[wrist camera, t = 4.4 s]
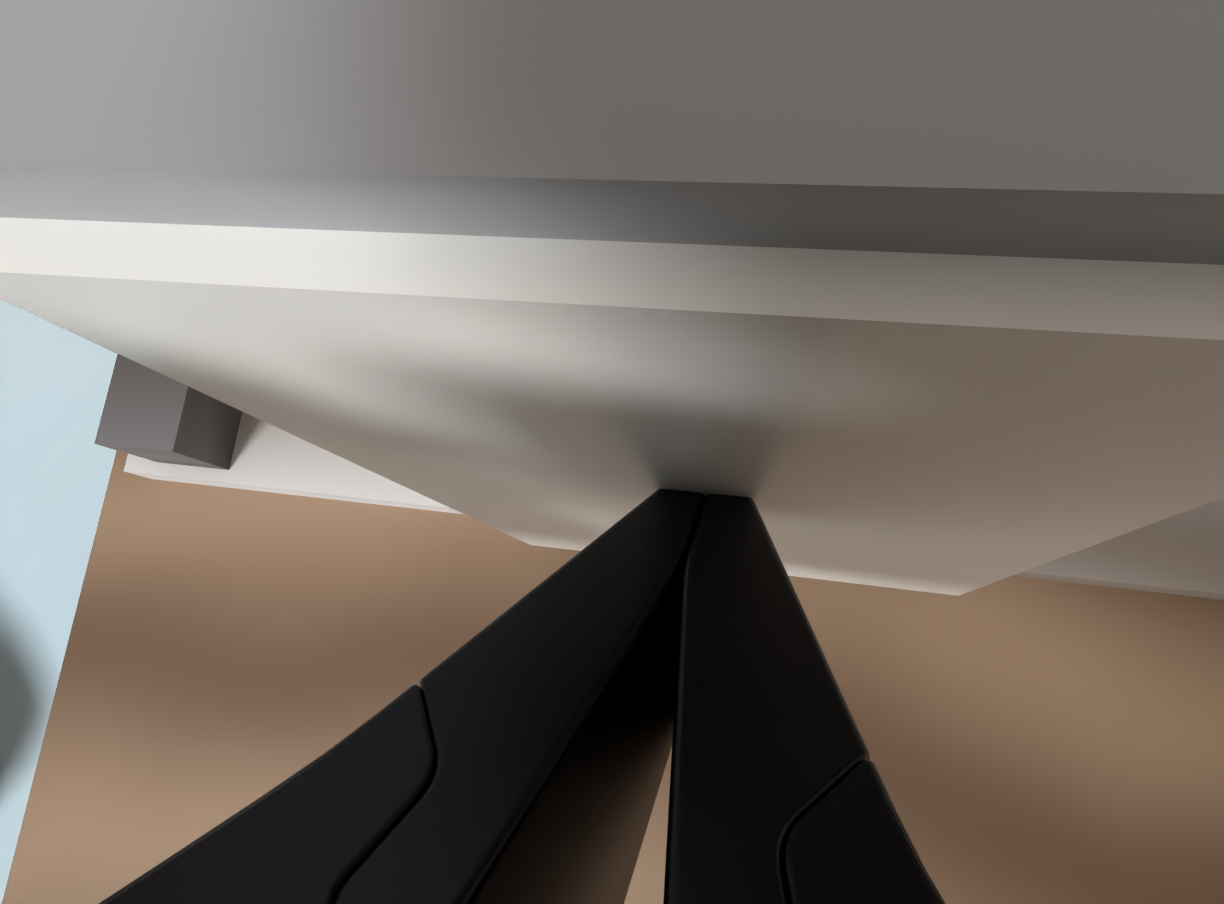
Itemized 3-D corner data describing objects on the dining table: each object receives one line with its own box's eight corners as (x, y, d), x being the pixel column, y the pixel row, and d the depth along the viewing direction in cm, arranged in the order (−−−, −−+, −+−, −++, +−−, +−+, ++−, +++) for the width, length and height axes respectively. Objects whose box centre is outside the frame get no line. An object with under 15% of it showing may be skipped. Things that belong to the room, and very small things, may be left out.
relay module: (958, 595, 13) (1751, 304, 2) (529, 544, 15) (-170, 220, 4) (975, 258, 15) (1561, -957, 4) (577, 242, 16) (142, -652, 5)
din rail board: (1660, 1639, 11) (2057, 2088, 8) (-4, 1120, 17) (-210, 1243, 13) (1547, 317, 15) (1784, 215, 11) (207, 254, 20) (88, 172, 17)
